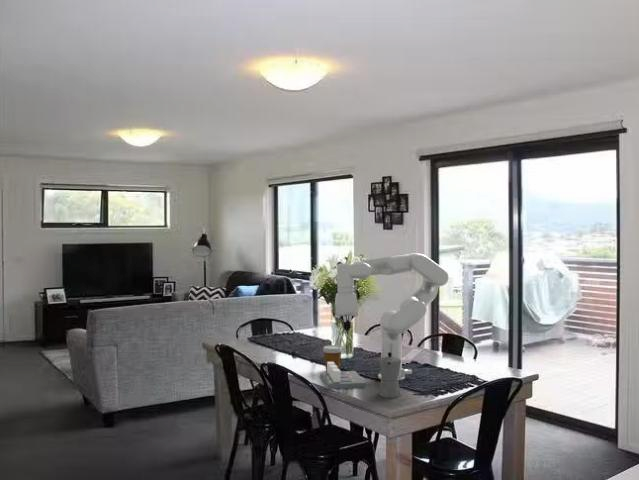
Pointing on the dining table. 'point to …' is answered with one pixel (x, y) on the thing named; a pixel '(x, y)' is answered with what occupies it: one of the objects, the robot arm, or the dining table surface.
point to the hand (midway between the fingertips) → (347, 329)
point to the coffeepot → (389, 376)
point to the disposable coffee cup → (332, 354)
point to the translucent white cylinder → (410, 356)
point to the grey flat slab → (343, 380)
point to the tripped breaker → (336, 375)
